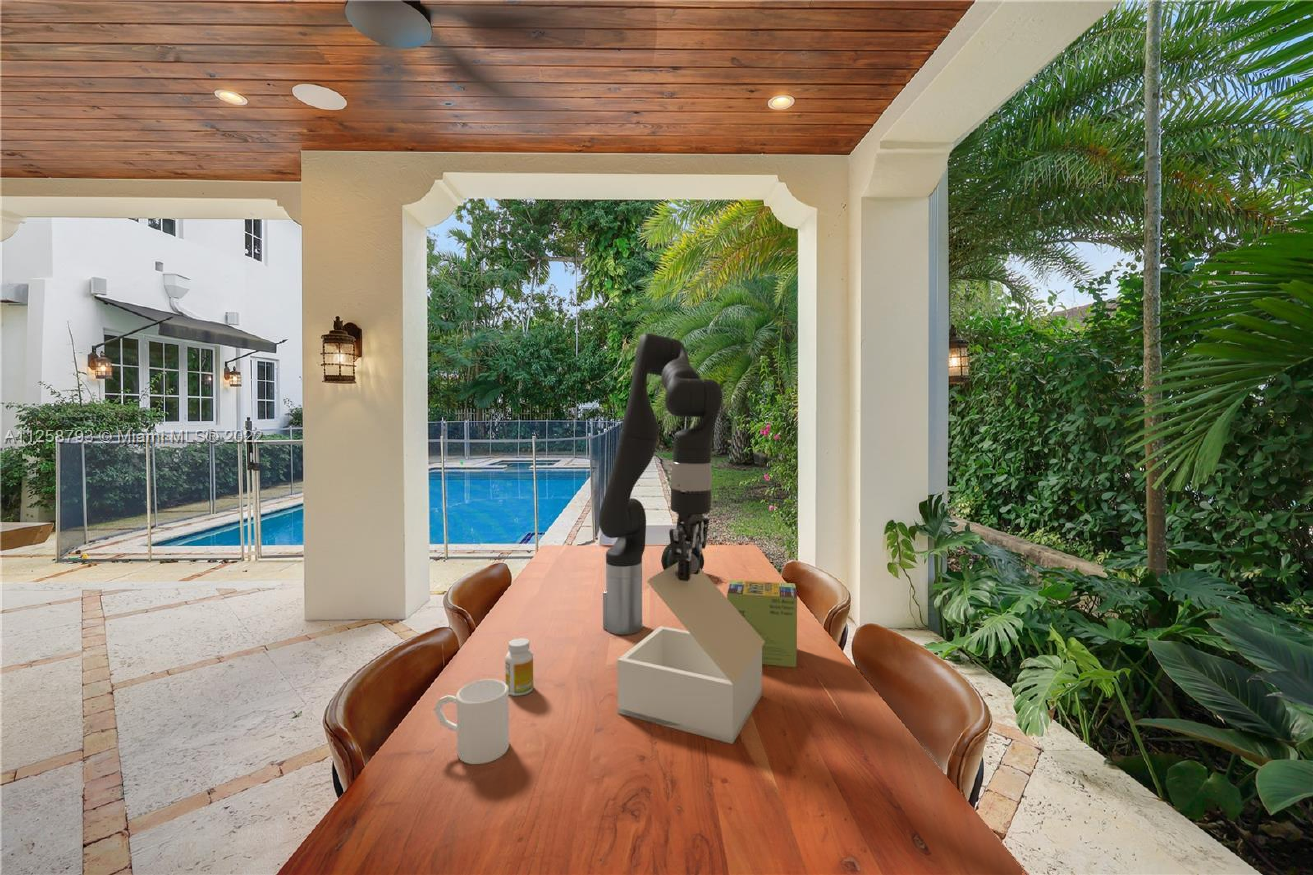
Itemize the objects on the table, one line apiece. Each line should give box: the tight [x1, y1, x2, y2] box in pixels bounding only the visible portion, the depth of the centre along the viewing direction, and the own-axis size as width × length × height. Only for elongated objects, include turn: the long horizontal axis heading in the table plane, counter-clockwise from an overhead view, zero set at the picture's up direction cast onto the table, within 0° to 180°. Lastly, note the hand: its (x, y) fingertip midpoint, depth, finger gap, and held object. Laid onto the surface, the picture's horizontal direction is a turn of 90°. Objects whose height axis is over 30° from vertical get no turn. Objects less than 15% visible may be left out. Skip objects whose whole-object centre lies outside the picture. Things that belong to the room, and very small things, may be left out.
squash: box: [660, 542, 705, 571], centre depth 188 cm, size 14×15×15 cm
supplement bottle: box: [504, 637, 534, 697], centre depth 110 cm, size 5×5×10 cm
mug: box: [433, 678, 510, 765], centre depth 90 cm, size 8×12×10 cm
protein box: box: [726, 579, 798, 668], centre depth 126 cm, size 10×15×16 cm
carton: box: [616, 625, 763, 745], centre depth 104 cm, size 22×18×10 cm
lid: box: [646, 554, 765, 684], centre depth 102 cm, size 22×18×6 cm
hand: (688, 576), depth 104 cm, fingers closed on lid, 4 cm apart
